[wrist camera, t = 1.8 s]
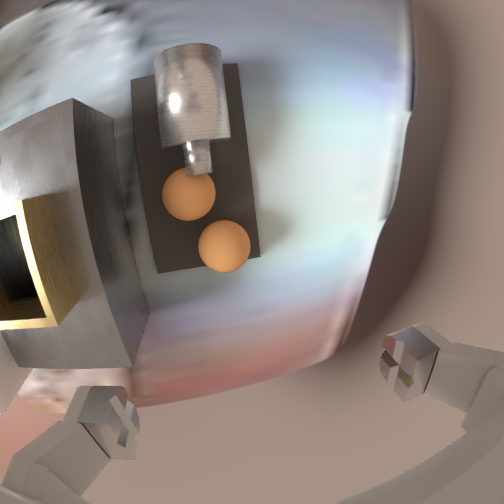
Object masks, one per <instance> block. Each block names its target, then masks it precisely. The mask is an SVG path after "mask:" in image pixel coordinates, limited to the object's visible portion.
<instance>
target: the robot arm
mask: <svg viewBox="0 0 504 504" xmlns="http://www.w3.org/2000/svg"><path fill="white" fill-rule="evenodd" d="M383 347H384V349H385V351H384V353H383V354H382V356H381V358H380V370H381V373H382V375H383V377H384V379H385V380H386V381H387V382H389V383H391V384H394V391H395V392H396V393H397V395H398V396H399V397H400V398H401V399H402V401H403V402H406V401H409V400H411V399H413V398H415V397H417V396H419V395H421V394H423V393H424V394H425V395H427V396H429V397H431V398H434V399H436V400H438V401H441V402H443V403H445V404H448V405H450V406H452V407H455V408H457V409H460V410H462V411H464V412H467V414H466V415H465V417H464V419H463V421H462V423H461V427H462V428H463V429H464V430H465V431H466V432H467V433H465V434H464V435H463V436H461V437H460V438H459V439H457V440H456V441H455V442H453V443H452V444H450V445H449V446H447V447H446V448H444V449H443V450H441V451H440V452H439V453H437V454H435V455H434V456H432V457H430V458H429V459H427V460H426V461H424V462H422V463H421V464H419V465H417V466H415V467H413V468H412V469H410V470H408V471H406V472H404V473H402V474H401V475H399V476H397V477H395V478H393V479H391V480H389V481H387V482H384V483H382V484H380V485H378V486H376V487H374V488H371V489H369V490H367V491H364V492H362V493H360V494H357V495H354V496H352V497H349V498H346V499H344V500H341V501H338V502H335V503H332V504H504V352H500V351H494V350H490V349H484V348H480V347H475V346H470V345H465V344H461V343H456V342H455V343H453V344H452V343H451V342H450V341H448V340H447V339H445V338H444V337H443V336H442V335H441V334H439V333H438V332H437V331H435V330H434V329H433V328H432V327H430V326H429V325H427V324H426V323H425V322H419V323H417V324H414V325H412V326H410V327H408V328H405V329H403V330H400V331H397V332H395V333H392V334H389V335H387V336H386V337H385V338H384V341H383ZM127 399H128V393H127V392H126V390H125V388H124V387H121V386H80V387H78V388H77V390H76V392H75V394H74V397H73V399H72V401H71V403H70V406H69V408H68V410H67V412H66V415H65V417H64V420H63V421H58V422H57V423H55V424H54V425H53V426H52V427H50V428H49V429H48V430H46V431H45V432H44V433H42V434H41V435H40V436H38V437H37V438H36V439H34V440H33V441H32V442H30V443H29V444H28V445H26V446H25V447H24V448H22V449H21V450H20V451H18V452H17V453H16V454H14V455H13V457H12V459H11V462H10V464H9V467H8V469H7V472H6V475H5V477H4V480H3V483H2V485H1V484H0V504H90V503H89V502H88V501H86V500H85V499H84V498H82V497H81V495H82V494H83V493H84V492H85V491H86V489H87V488H88V487H89V486H90V485H91V483H92V482H93V481H94V480H95V479H96V477H97V476H98V475H99V474H100V472H101V471H102V470H103V469H104V467H105V466H106V465H107V464H108V463H109V461H110V459H129V460H133V459H134V460H135V454H136V447H137V442H136V441H135V440H134V437H135V435H137V433H139V427H140V423H139V416H138V413H137V410H136V408H135V406H134V405H133V404H132V403H130V402H129V401H127Z"/></svg>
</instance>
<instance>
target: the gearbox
mask: <svg viewBox="0 0 504 504" xmlns="http://www.w3.org/2000/svg"><path fill="white" fill-rule="evenodd" d="M148 316H149V311H148V307H147V304H146V301H145V297H144V294H143V290H142V286H141V283H140V279H139V275H138V271H137V267H136V263H135V259H134V255H133V250H132V246H131V242H130V237H129V232H128V227H127V222H126V217H125V212H124V207H123V201H122V195H121V189H120V182H119V176H118V168H117V161H116V152H115V143H114V133H113V121H112V118H111V117H109V116H107V115H105V114H103V113H101V112H99V111H97V110H95V109H93V108H91V107H89V106H88V105H86V104H84V103H82V102H80V101H78V100H76V99H74V98H71V99H68V100H66V101H63V102H61V103H58V104H56V105H53V106H51V107H49V108H46V109H44V110H42V111H40V112H38V113H35V114H33V115H31V116H29V117H27V118H25V119H23V120H21V121H19V122H17V123H15V124H13V125H11V126H10V127H8V128H6V129H4V130H2V131H1V132H0V332H1V334H2V336H3V338H4V340H5V342H6V344H7V346H8V348H9V350H10V352H11V354H12V356H13V358H14V360H15V362H16V363H17V365H18V367H24V368H46V369H93V368H118V367H133V364H134V360H135V357H136V354H137V350H138V347H139V344H140V341H141V338H142V334H143V331H144V328H145V325H146V322H147V319H148Z"/></svg>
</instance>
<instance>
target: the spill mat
mask: <svg viewBox="0 0 504 504" xmlns="http://www.w3.org/2000/svg"><path fill="white" fill-rule="evenodd" d="M222 65H223V73H224V82H225V90H226V99H227V107H228V116H229V124H230V132H231V139H229V140H226V141H222V142H218V143H213V144H210V152H211V160H212V167H213V172H212V173H206V174H208V175H209V177H210V178H211V179H212V181H213V183H214V186H215V192H216V195H215V201H214V204H213V206H212V208H211V209H210V210H209V212H208V213H207V214H206V215H204V216H203V217H201V218H199V219H196V220H191V221H185V220H180V219H178V218H176V217H174V216H173V215H171V214H170V213H169V212H168V210H167V209H166V207H165V205H164V203H163V199H162V190H163V186H164V184H165V182H166V180H167V178H168V177H169V176H170V175H171V174H172V173H174V172H175V171H177V170H179V169H181V168H185V160H184V152H183V148H180V149H162V148H161V140H160V131H159V121H158V110H157V99H156V86H155V75H150V76H145V77H141V78H137V79H133V80H131V96H132V111H133V123H134V133H135V143H136V151H137V159H138V167H139V174H140V181H141V188H142V194H143V200H144V206H145V212H146V217H147V222H148V228H149V233H150V238H151V243H152V247H153V252H154V257H155V261H156V265H157V270H158V273H163V272H169V271H176V270H182V269H188V268H194V267H201V266H207V265H206V264H205V263H204V262H203V261H202V259H201V257H200V254H199V249H198V243H199V239H200V236H201V234H202V232H203V231H204V229H205V228H206V227H207V226H209V225H210V224H212V223H214V222H216V221H221V220H228V221H232V222H235V223H237V224H239V225H240V226H241V227H242V228H243V229H244V230H245V231H246V233H247V235H248V237H249V240H250V253H249V256H248V258H247V259H250V258H256V257H260V249H259V240H258V231H257V223H256V214H255V205H254V197H253V188H252V180H251V171H250V163H249V155H248V146H247V138H246V130H245V122H244V113H243V105H242V97H241V89H240V81H239V74H238V66H237V63H234V64H222Z"/></svg>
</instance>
